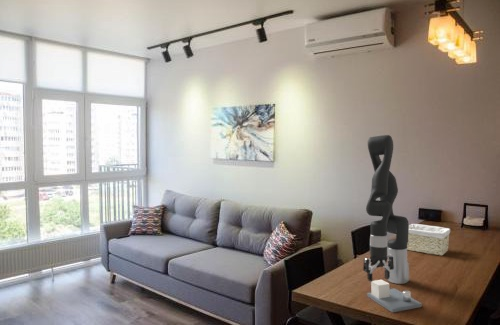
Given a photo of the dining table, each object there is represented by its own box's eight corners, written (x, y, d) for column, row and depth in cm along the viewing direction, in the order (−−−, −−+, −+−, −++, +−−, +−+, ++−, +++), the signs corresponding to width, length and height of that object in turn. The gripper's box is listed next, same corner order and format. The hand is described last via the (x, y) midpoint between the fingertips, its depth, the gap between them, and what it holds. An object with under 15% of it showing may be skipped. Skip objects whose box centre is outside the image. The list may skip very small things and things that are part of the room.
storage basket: (451, 250, 242) (451, 227, 241) (443, 257, 229) (443, 232, 228) (412, 244, 257) (411, 223, 256) (403, 250, 245) (403, 227, 244)
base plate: (394, 291, 182) (394, 288, 182) (421, 306, 165) (421, 303, 165) (366, 296, 178) (366, 293, 177) (392, 312, 160) (392, 309, 160)
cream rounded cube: (381, 292, 178) (381, 279, 177) (389, 296, 172) (389, 283, 172) (371, 293, 176) (371, 281, 176) (378, 298, 171) (378, 285, 170)
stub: (407, 298, 170) (407, 289, 170) (412, 301, 167) (412, 292, 166) (401, 299, 169) (401, 291, 169) (406, 302, 166) (406, 293, 166)
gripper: (387, 241, 179) (386, 275, 179) (360, 243, 175) (360, 278, 176) (397, 245, 171) (397, 281, 172) (369, 248, 168) (369, 284, 168)
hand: (378, 279), depth 174 cm, fingers open, 8 cm apart
